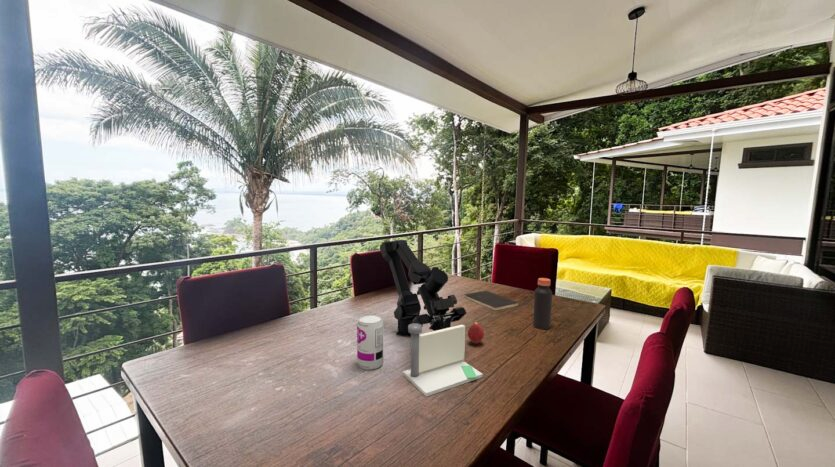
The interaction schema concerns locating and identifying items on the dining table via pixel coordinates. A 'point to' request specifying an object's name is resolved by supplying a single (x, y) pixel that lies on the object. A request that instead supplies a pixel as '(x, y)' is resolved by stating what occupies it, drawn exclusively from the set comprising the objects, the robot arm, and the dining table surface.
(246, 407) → the dining table surface
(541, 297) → the bottle
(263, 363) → the dining table surface
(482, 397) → the dining table surface
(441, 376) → the white base board
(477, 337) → the onion
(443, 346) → the hinged door panel
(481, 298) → the hardcover book
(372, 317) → the supplement can
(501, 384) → the dining table surface
